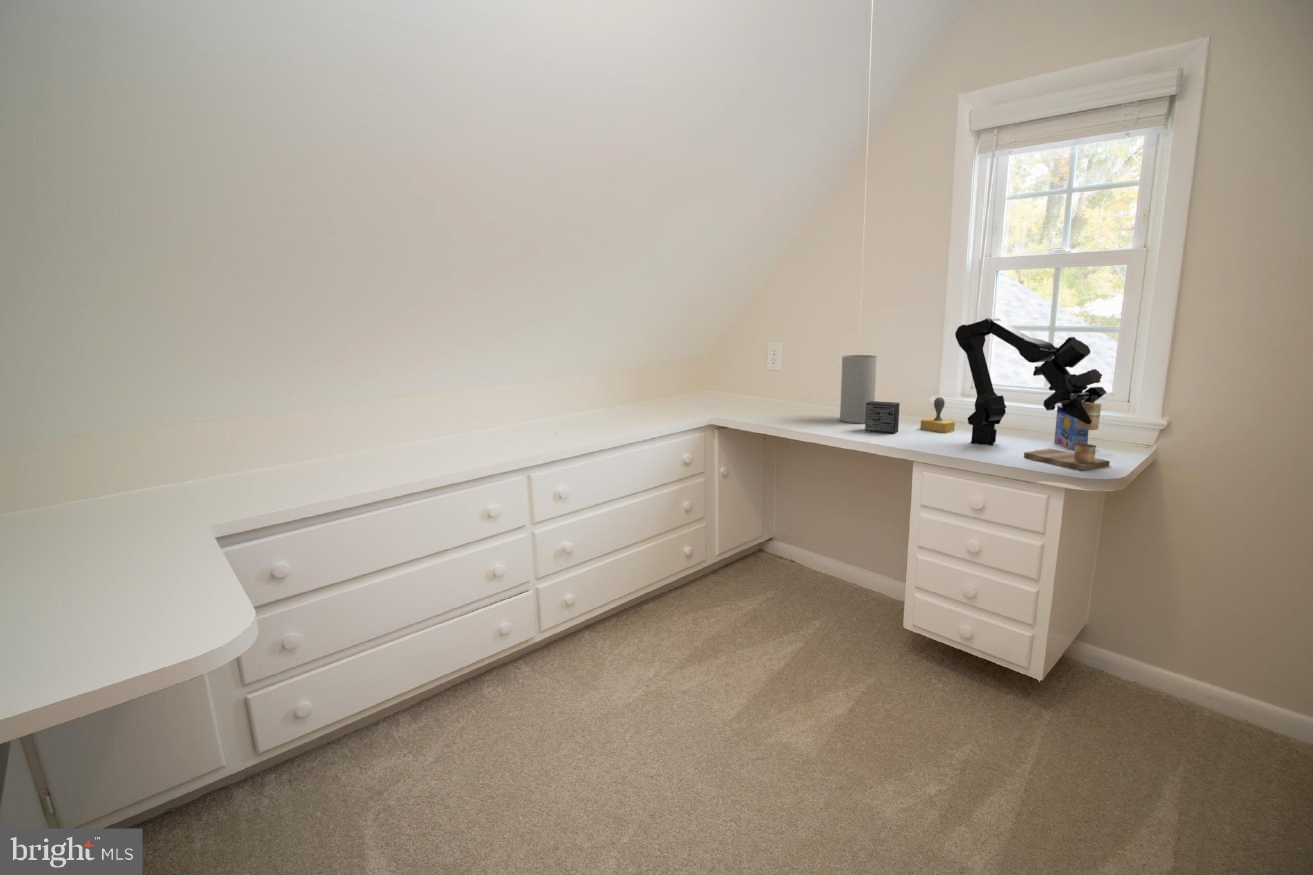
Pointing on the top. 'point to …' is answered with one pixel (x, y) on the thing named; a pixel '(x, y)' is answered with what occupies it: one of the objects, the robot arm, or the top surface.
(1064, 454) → the stand
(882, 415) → the small box
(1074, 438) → the ink cartridge box
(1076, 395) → the robot arm
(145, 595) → the top surface
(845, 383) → the cylinder vase
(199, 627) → the top surface
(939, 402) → the rubber stamp
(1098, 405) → the stub
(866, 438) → the top surface
